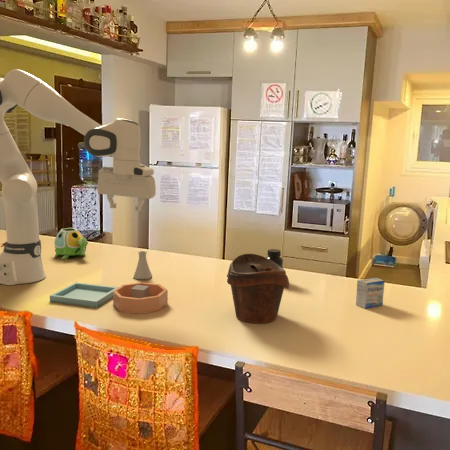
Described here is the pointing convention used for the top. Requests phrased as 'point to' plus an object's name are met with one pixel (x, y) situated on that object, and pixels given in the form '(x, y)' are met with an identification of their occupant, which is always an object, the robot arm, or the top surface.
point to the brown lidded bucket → (256, 287)
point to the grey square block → (140, 291)
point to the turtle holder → (70, 243)
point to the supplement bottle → (275, 256)
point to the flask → (142, 267)
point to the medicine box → (370, 293)
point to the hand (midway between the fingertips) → (125, 209)
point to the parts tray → (83, 294)
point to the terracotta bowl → (140, 305)
